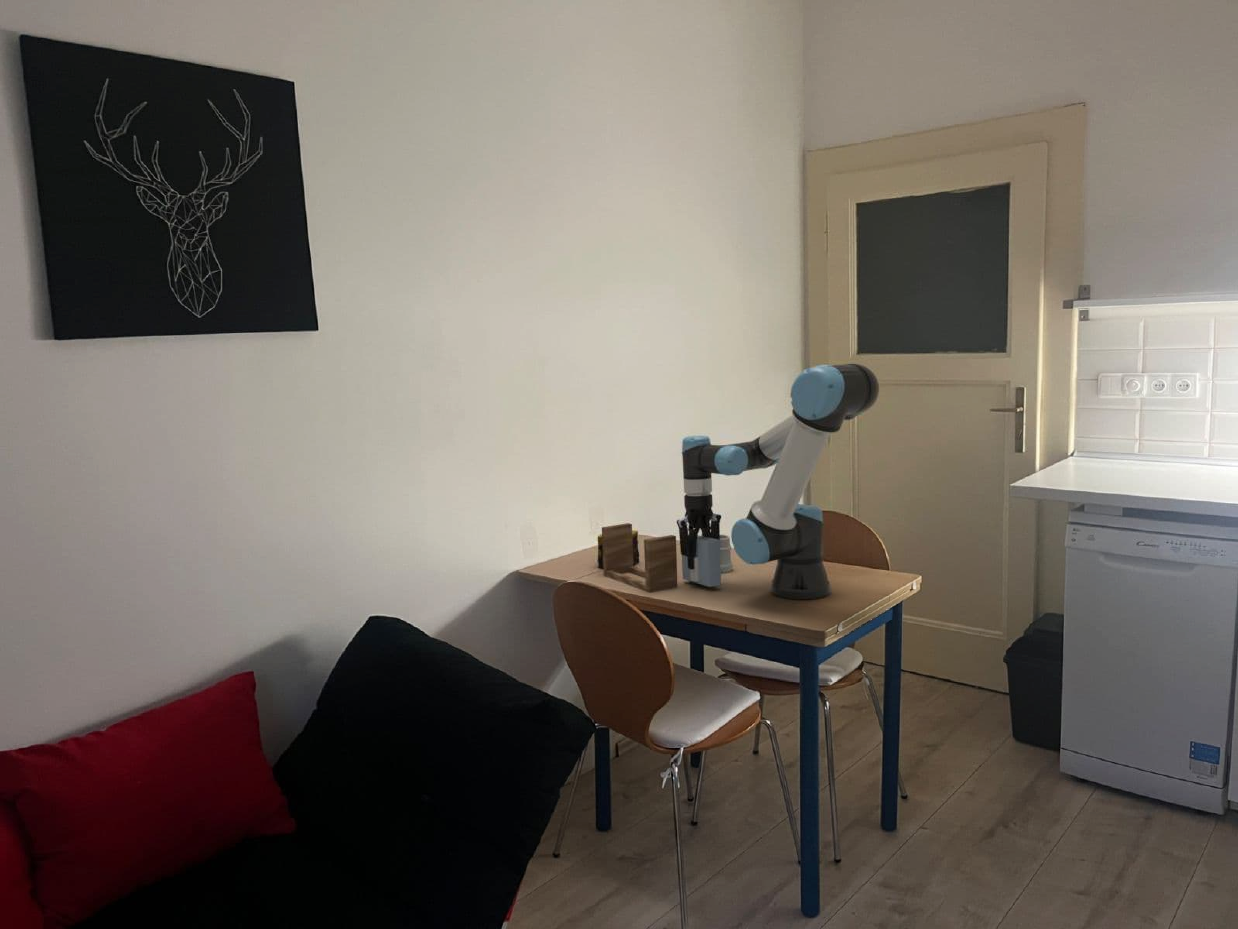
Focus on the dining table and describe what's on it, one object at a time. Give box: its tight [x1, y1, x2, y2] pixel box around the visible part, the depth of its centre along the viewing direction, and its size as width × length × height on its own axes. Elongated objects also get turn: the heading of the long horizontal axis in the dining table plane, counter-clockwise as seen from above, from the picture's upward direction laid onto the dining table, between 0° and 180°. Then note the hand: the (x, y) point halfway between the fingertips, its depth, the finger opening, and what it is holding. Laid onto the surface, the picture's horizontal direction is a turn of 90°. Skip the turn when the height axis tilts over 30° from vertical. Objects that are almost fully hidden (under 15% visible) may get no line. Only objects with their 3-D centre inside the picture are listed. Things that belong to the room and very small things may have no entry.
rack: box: [601, 523, 679, 593], centre depth 257 cm, size 24×9×14 cm, turn 32°
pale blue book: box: [681, 534, 722, 588], centre depth 249 cm, size 12×4×12 cm, turn 32°
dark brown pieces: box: [597, 530, 640, 570], centre depth 276 cm, size 10×10×10 cm
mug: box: [700, 533, 734, 574], centre depth 267 cm, size 8×12×12 cm, turn 38°
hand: (701, 578), depth 249 cm, fingers closed on pale blue book, 4 cm apart
